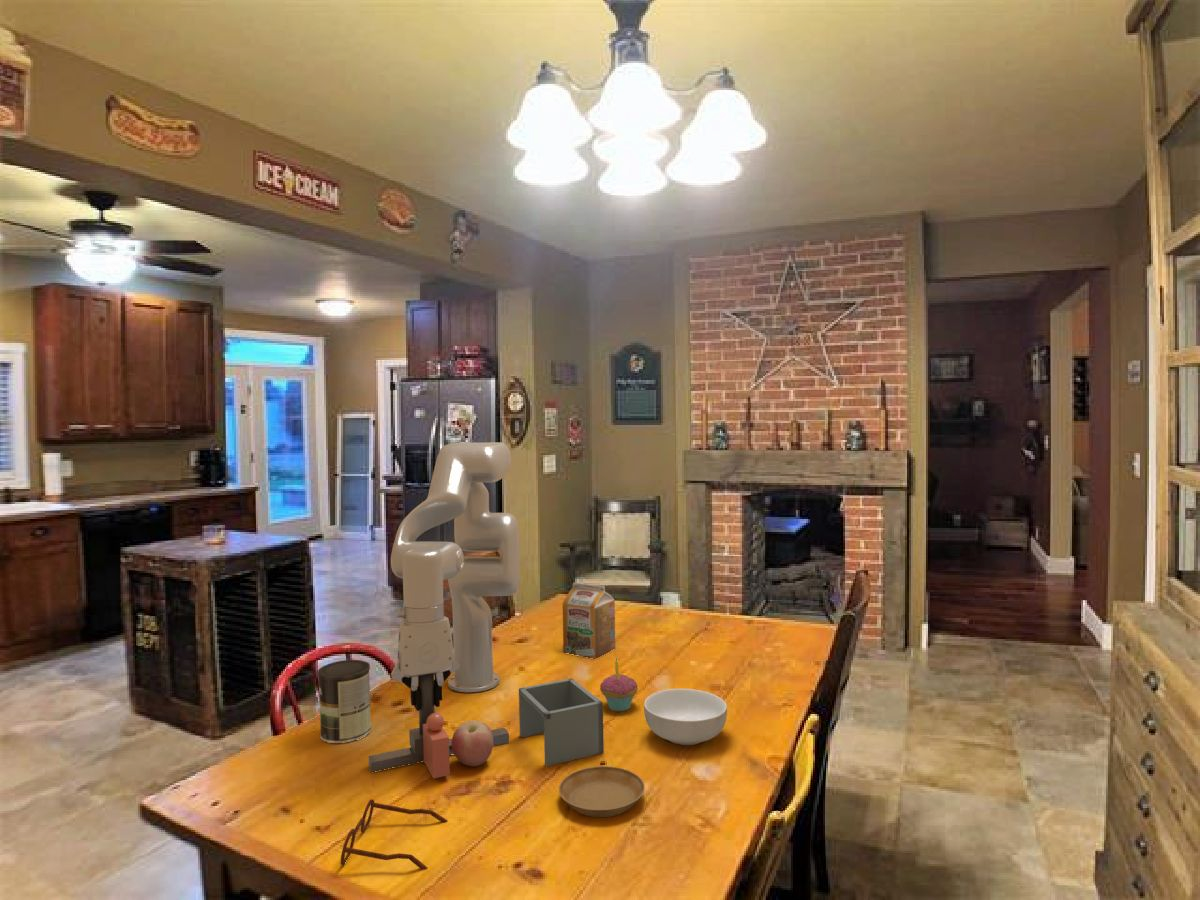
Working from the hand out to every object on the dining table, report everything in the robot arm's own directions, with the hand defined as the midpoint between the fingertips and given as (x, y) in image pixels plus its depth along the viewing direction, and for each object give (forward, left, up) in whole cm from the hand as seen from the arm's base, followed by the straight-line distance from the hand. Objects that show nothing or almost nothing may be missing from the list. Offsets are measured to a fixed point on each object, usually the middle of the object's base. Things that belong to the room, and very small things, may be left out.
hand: (426, 705), depth 141 cm
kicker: (+4, 0, -9) cm, 10 cm away
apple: (+7, +7, -11) cm, 14 cm away
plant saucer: (+30, +23, -11) cm, 39 cm away
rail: (0, +3, -10) cm, 11 cm away
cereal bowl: (+16, +49, -11) cm, 53 cm away
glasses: (+27, -11, -11) cm, 31 cm away
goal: (+7, +25, -10) cm, 28 cm away
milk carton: (-43, +55, -11) cm, 71 cm away
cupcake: (-4, +44, -10) cm, 45 cm away
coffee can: (-19, -13, -11) cm, 25 cm away
